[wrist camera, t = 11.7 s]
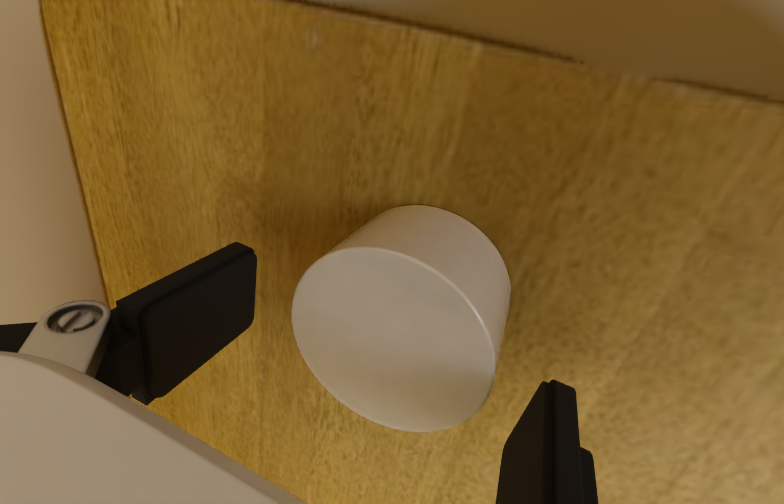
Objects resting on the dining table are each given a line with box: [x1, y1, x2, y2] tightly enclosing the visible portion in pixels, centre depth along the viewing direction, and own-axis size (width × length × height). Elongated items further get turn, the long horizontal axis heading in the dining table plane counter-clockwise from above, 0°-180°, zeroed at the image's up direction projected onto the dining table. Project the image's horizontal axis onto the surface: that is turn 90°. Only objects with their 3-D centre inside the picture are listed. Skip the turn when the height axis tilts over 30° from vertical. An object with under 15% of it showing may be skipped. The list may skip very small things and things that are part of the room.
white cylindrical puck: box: [291, 205, 511, 433], centre depth 13 cm, size 6×6×4 cm
